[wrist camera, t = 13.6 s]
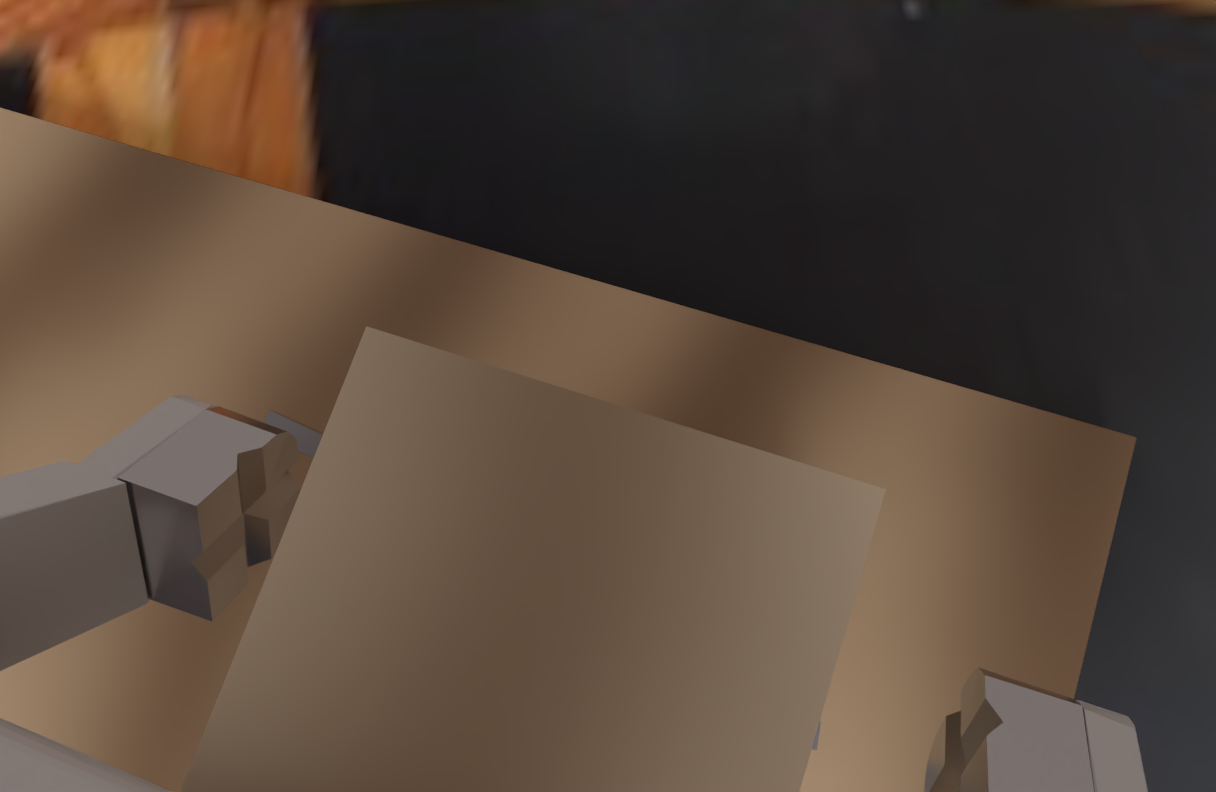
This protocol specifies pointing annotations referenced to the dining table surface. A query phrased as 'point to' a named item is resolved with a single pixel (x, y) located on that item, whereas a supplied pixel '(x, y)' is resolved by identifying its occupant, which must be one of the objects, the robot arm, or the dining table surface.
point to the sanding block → (536, 599)
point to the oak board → (530, 346)
